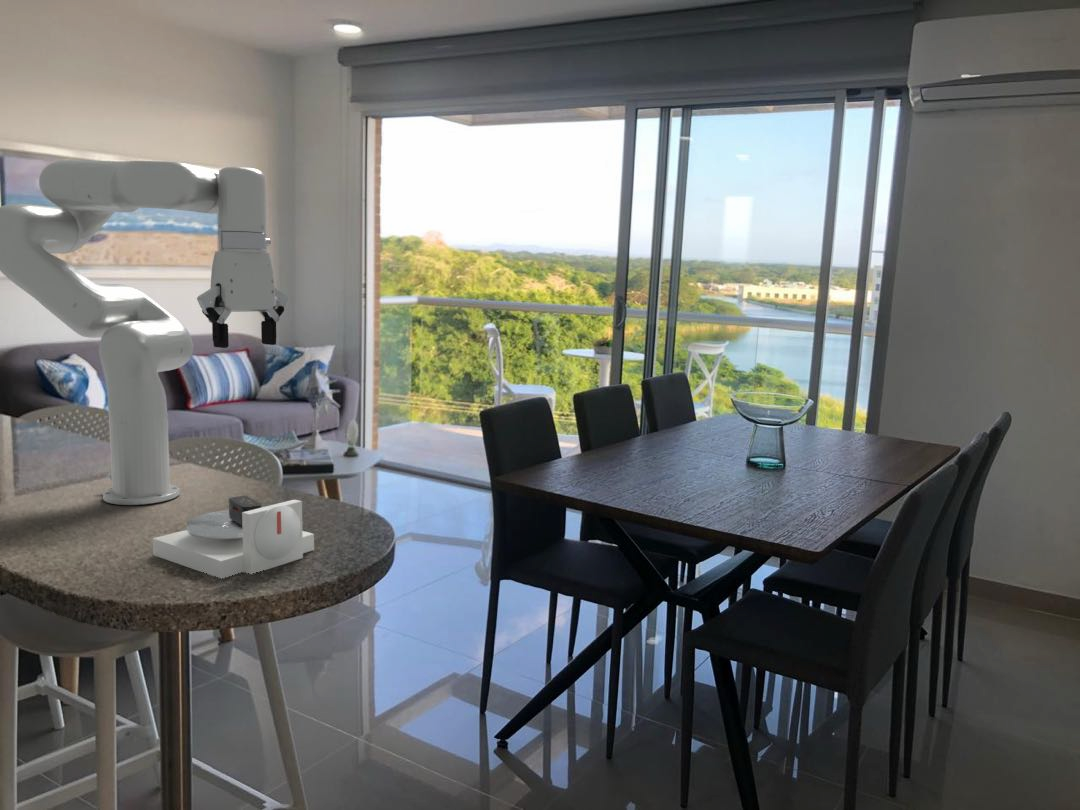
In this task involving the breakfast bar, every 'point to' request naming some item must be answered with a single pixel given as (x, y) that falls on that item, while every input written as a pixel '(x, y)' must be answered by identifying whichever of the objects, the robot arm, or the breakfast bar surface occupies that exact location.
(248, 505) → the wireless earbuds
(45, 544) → the breakfast bar surface
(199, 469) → the breakfast bar surface
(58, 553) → the breakfast bar surface
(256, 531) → the kitchen scale
